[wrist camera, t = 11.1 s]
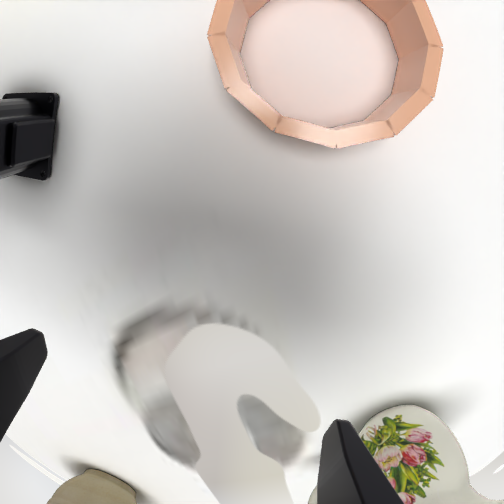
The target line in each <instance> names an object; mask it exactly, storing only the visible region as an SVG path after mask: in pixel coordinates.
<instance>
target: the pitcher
mask: <svg viewBox="0 0 504 504" xmlns="http://www.w3.org/2000/svg"><path fill="white" fill-rule="evenodd" d="M359 436H360V438H361V439H362V441H363V443H364V444H365V446H366V447H367V449H368V450H369V452H370V453H371V455H372V456H373V458H374V459H375V461H376V462H377V464H378V465H379V467H380V468H381V470H382V471H383V473H384V474H385V476H386V477H387V479H388V480H389V482H390V483H391V485H392V486H393V488H394V489H395V491H396V492H397V494H398V495H399V497H400V498H401V500H402V501H403V503H404V504H504V500H490V499H488V498H486V497H484V496H482V495H481V494H479V493H478V492H477V491H476V490H475V489H474V488H473V487H472V486H471V485H470V482H469V472H468V467H467V463H466V459H465V456H464V453H463V451H462V448H461V446H460V444H459V442H458V441H457V439H456V437H455V436H454V434H453V433H452V431H451V430H450V429H449V427H448V426H447V425H446V424H445V423H444V422H443V421H442V420H441V419H440V418H439V417H437V416H436V415H435V414H433V413H432V412H430V411H428V410H426V409H423V408H421V407H419V406H416V405H400V406H395V407H392V408H389V409H386V410H384V411H382V412H380V413H378V414H377V415H375V416H374V417H372V418H371V419H370V420H369V421H368V422H367V423H366V424H365V426H364V427H363V429H362V430H361V432H360V433H359ZM308 504H317V486H316V487H315V489H314V490H313V492H312V494H311V496H310V498H309V501H308Z"/></svg>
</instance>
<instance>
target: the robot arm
mask: <svg viewBox="0 0 504 504" xmlns="http://www.w3.org/2000/svg"><path fill="white" fill-rule="evenodd" d="M51 98H53V100H52V102H51ZM57 105H58V94H57V93H12V94H5V95H4V96H3V98H2V99H0V179H1V178H4V177H7V176H10V175H13V174H14V175H19V176H24V177H28V178H33V179H38V180H47V179H49V177H50V175H51V160H52V147H53V137H54V128H55V119H56V112H57ZM44 172H45V175H44ZM46 358H47V347H46V343H45V338H44V335H43V333H42V332H40V331H38V330H36V329H33V328H32V329H28V330H26V331H23V332H20V333H18V334H15V335H12V336H10V337H7V338H4V339H2V340H0V442H1V440H2V438H3V436H4V435H5V433H6V431H7V429H8V428H9V426H10V424H11V422H12V421H13V419H14V417H15V416H16V414H17V412H18V411H19V409H20V407H21V406H22V404H23V402H24V401H25V399H26V397H27V396H28V394H29V392H30V390H31V388H32V386H33V384H34V382H35V380H36V378H37V376H38V374H39V372H40V370H41V368H42V366H43V364H44V362H45V360H46ZM317 504H404V503H403V501H402V500H401V498H400V497H399V495H398V494H397V492H396V491H395V489H394V488H393V486H392V485H391V483H390V482H389V480H388V479H387V477H386V476H385V474H384V473H383V471H382V470H381V468H380V467H379V465H378V464H377V462H376V461H375V459H374V458H373V456H372V455H371V453H370V452H369V450H368V449H367V447H366V446H365V444H364V443H363V441H362V439H361V438H360V436H359V435H358V433H357V432H356V430H355V429H354V427H353V426H352V424H351V423H350V422H349V421H347V420H340V419H336V420H334V421H333V423H332V424H331V426H330V427H329V428H328V430H327V431H326V433H325V434H324V436H323V440H322V449H321V457H320V466H319V474H318V482H317Z"/></svg>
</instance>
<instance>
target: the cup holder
mask: <svg viewBox="0 0 504 504" xmlns="http://www.w3.org/2000/svg"><path fill="white" fill-rule="evenodd" d="M268 1H269V0H217V2H216V5H215V9H214V12H213V15H212V19H211V22H210V26H209V30H208V33H207V35H208V37H207V38H208V41H209V43H210V46H211V49H212V52H213V55H214V58H215V61H216V64H217V67H218V70H219V73H220V76H221V79H222V82H223V85H224V88H225V89H227V92H228V93H229V94H231V95H232V96H233V97H234V98H235V99H236V100H238V101H239V102H240V103H241V104H242V105H243V106H245V107H246V108H247V109H248V110H249V111H250V112H251V113H253V114H254V115H255V116H256V117H257V118H258V119H259V120H260V121H262V122H263V123H264V124H265V125H266V126H267V127H268V128H269V129H270V130H271V131H273V130H275V133H279V134H283V135H287V136H291V137H295V138H299V139H302V140H306V141H310V142H313V143H317V144H320V145H324V146H327V147H331V148H334V149H335V148H337V149H339V148H343V147H348V146H352V145H357V144H361V143H366V142H371V141H375V140H380V139H385V138H390V137H394V135H397V134H398V133H399V132H400V131H401V130H403V129H404V128H405V127H406V126H407V125H408V124H409V123H410V122H411V121H412V120H413V119H414V118H415V117H416V116H417V115H418V114H419V113H420V112H421V111H422V110H423V109H424V108H425V107H426V106H427V105H428V104H429V103H430V102H431V101H432V100H433V99H432V98H434V96H435V92H436V87H437V82H438V77H439V71H440V66H441V60H442V54H443V48H441V47H443V44H442V42H441V39H440V36H439V33H438V30H437V28H436V25H435V23H434V20H433V17H432V15H431V13H430V10H429V8H428V5H427V3H426V1H425V0H360V1H361V2H362V3H364V4H365V5H366V6H367V7H368V8H369V9H370V10H372V11H373V12H374V13H375V14H376V15H377V16H378V17H379V18H380V19H381V20H382V21H383V22H385V23H386V25H387V28H388V30H389V33H390V36H391V38H392V41H393V44H394V47H395V50H396V53H397V56H398V59H399V61H398V66H397V71H396V75H395V80H394V84H393V89H392V93H391V95H390V96H389V97H388V98H387V99H386V100H385V101H384V102H383V103H382V104H381V105H380V106H379V107H378V108H377V109H376V110H375V111H374V112H373V113H372V114H370V115H369V116H368V117H367V118H366V119H365V120H364V121H360V122H355V123H350V124H346V125H341V126H337V127H332V128H326V127H322V126H319V125H315V124H312V123H308V122H304V121H301V120H297V119H293V118H289V117H285V116H282V115H281V114H280V113H279V112H277V111H276V110H275V109H274V108H273V107H272V106H271V105H270V104H269V103H267V102H266V101H265V100H264V99H263V98H262V97H261V96H259V95H258V94H257V93H256V92H255V91H254V90H253V89H252V88H251V85H250V82H249V79H248V76H247V73H246V70H245V67H244V64H243V61H242V59H241V56H240V51H241V48H242V44H243V40H244V36H245V32H246V29H247V25H248V21H249V18H250V17H251V16H253V15H254V14H255V13H256V12H257V11H258V10H259V9H260V8H261V7H263V6H264V5H265V4H266V3H267V2H268Z"/></svg>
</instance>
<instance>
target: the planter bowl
mask: <svg viewBox="0 0 504 504" xmlns="http://www.w3.org/2000/svg"><path fill="white" fill-rule="evenodd" d="M135 497H136V493H135V491H134V490H133V489H132V488H131V487H130V486H129V485H127V484H126V483H124V482H123V481H121V480H119V479H117V478H115V477H113V476H111V475H109V474H107V473H104V472H102V471H99V470H94V469H87V470H86V471H85V472H84V473H83V474H82V475H78V476H76V477H73V478H71V479H69V480H68V481H66V482H65V483H63V484H62V485H61V486H60V487H59V488H58V489H57V490H56V492H55V493H54V495H53V496H52V498H51V499H50V500H49V501H48V502H47V504H137V502H136V500H135Z"/></svg>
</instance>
